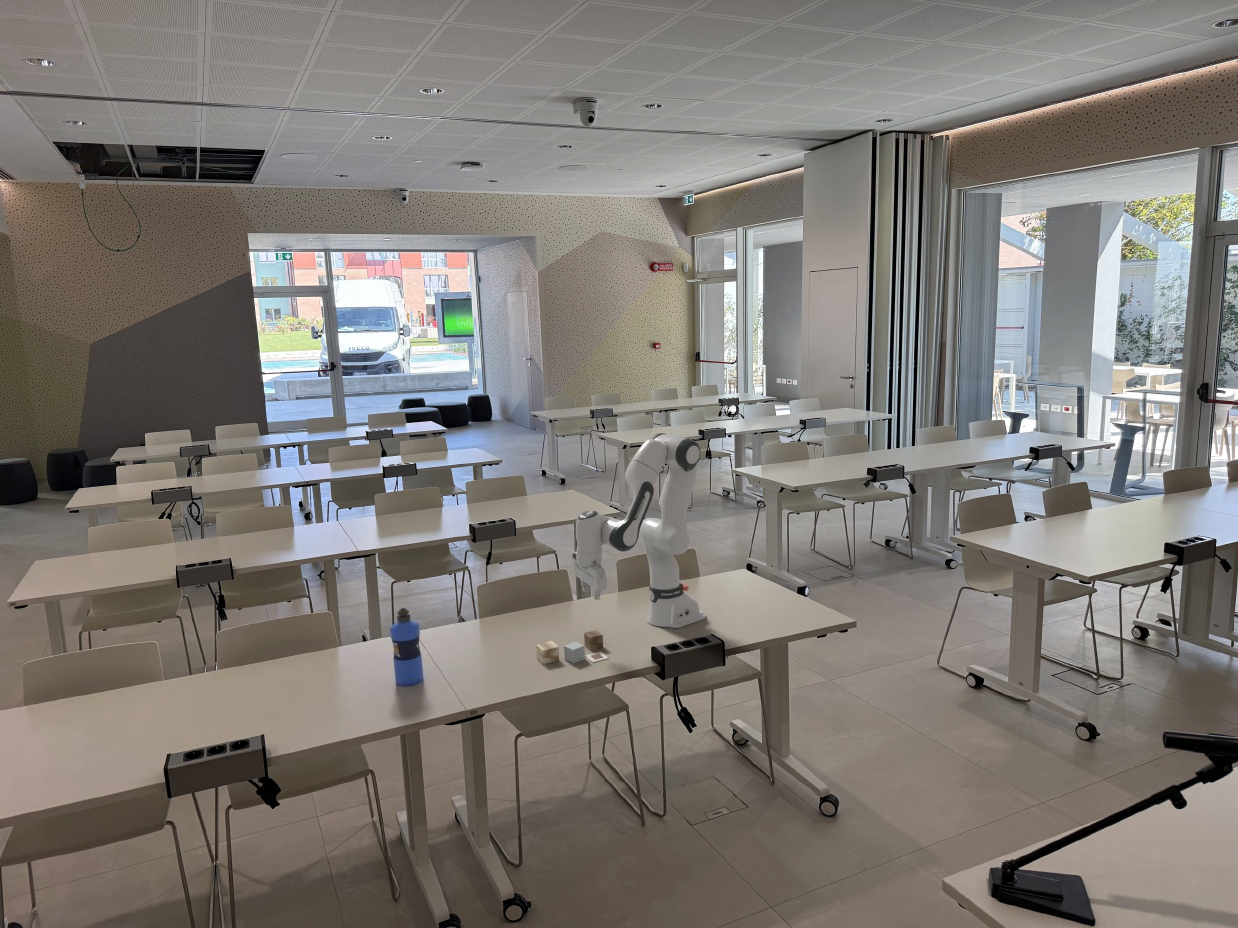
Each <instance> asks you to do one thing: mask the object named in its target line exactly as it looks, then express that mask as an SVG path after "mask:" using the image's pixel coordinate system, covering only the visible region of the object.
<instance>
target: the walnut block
mask: <svg viewBox="0 0 1238 928" xmlns="http://www.w3.org/2000/svg"><path fill="white" fill-rule="evenodd" d="M583 634H584V635H583V636H584V640H583V641H584V647H585V648H587V649H588V650H589V651H591V652H592V651H595V650H599V649H603V648H604V636H603V633H601V632H600V631H599V630H598V629H595V630H591V631H586V632H583Z"/></svg>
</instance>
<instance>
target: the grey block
mask: <svg viewBox="0 0 1238 928" xmlns="http://www.w3.org/2000/svg"><path fill="white" fill-rule="evenodd" d="M585 648H586V647H585V644H583V643H582V644H581V643H579V642H577V641H573V642H570V643H568V644H565V645H563V652H564V660H566V661H568V662H570V663H572V664H576V663H578V662H580V661H583V660H586V653H585V650H586V649H585Z"/></svg>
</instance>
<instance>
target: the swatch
mask: <svg viewBox="0 0 1238 928" xmlns="http://www.w3.org/2000/svg"><path fill="white" fill-rule="evenodd" d="M585 658H586V659H587V660H588V661H590V662H591V663H592V664H593V663H597V662H600V661H606V660H609V657H608V656H607V655H605V653H603V652H602V651H598V652H594V653H591V654H585Z"/></svg>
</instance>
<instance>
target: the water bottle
mask: <svg viewBox="0 0 1238 928" xmlns="http://www.w3.org/2000/svg"><path fill="white" fill-rule="evenodd" d="M396 614H397V616H396V620H397V621H396V623H394V624H392V625H391V626H390V628H389V632H390V634H389V635H390V639H391V642H392V648H393V658H392V659H393V670H394V677H395V678H394V680H395V684H396V685H398V686H400V687H412V686H416V685H418V684H420V683H422V682H423V681H424V670H423V669H424V668H423V659H422V651H421V648H420V635H421V631H420V623H419V622H417V621H414V620H411V614H410V610H408V609H407V608H405V607H402V608H400V609H399V610H398V611H397V613H396Z"/></svg>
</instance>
